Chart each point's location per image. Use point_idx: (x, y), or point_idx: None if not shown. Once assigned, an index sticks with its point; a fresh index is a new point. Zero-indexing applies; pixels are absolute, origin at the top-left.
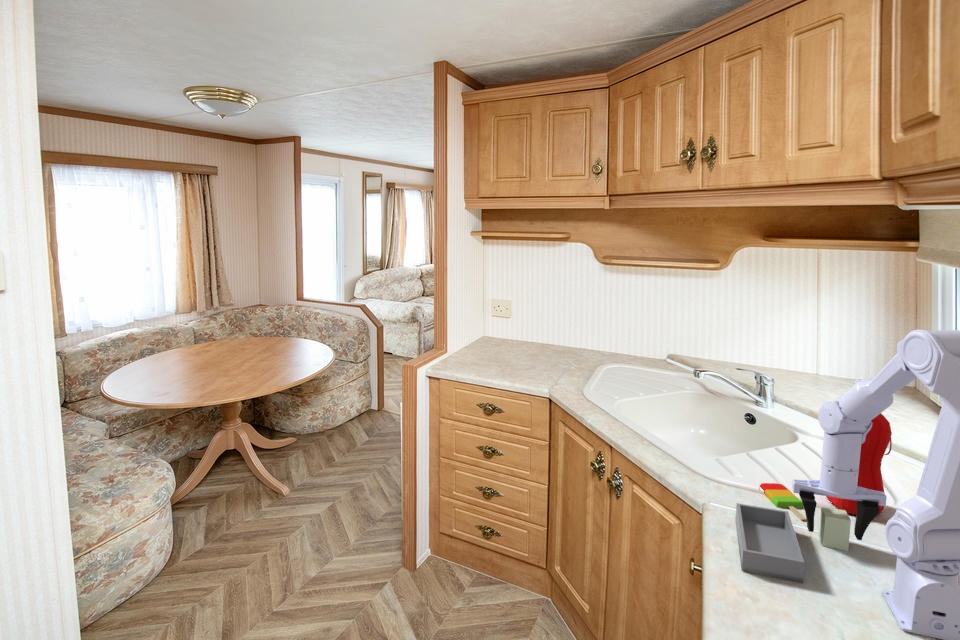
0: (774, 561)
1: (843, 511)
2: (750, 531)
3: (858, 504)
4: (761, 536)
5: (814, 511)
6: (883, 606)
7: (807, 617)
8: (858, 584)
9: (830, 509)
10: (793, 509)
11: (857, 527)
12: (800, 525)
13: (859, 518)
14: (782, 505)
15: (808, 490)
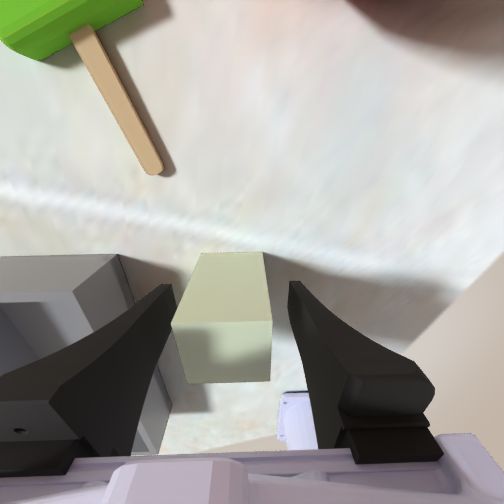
0: None
1: (260, 332)
2: (37, 323)
3: (329, 387)
4: (69, 335)
5: (143, 399)
6: (272, 410)
7: (180, 444)
8: (252, 385)
9: (209, 334)
10: (102, 82)
11: (296, 319)
12: (150, 210)
13: (308, 354)
14: (45, 46)
15: (39, 495)
